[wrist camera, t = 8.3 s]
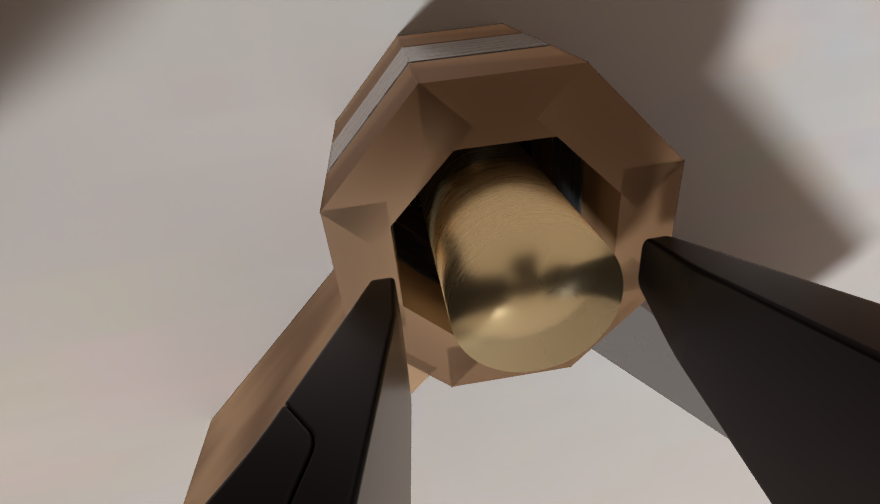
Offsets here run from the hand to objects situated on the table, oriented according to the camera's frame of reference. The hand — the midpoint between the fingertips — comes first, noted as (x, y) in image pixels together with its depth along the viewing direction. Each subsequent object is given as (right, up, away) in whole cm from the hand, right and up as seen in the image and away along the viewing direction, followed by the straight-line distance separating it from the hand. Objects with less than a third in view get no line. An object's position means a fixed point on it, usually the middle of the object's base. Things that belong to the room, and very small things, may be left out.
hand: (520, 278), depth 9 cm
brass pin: (-1, +4, +6) cm, 7 cm away
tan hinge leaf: (-4, 0, +8) cm, 9 cm away
